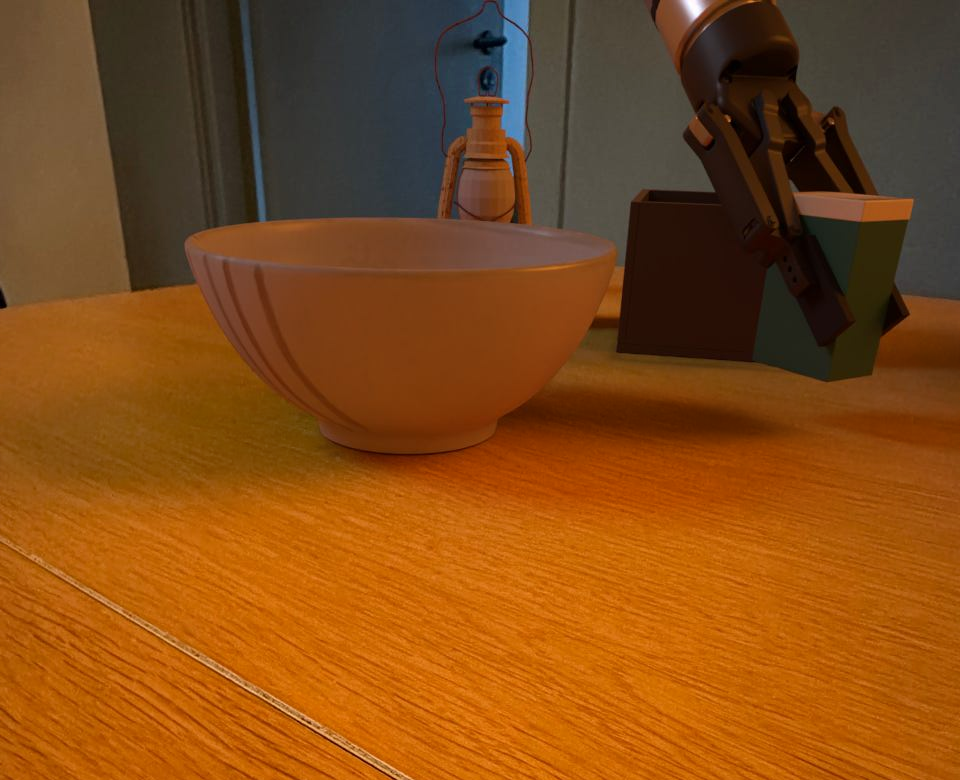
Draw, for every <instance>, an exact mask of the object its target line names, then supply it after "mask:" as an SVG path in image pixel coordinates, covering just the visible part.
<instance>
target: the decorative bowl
mask: <svg viewBox="0 0 960 780" xmlns="http://www.w3.org/2000/svg"><path fill="white" fill-rule="evenodd" d="M184 251H185V255H186V258H187V261H188V264H189V267H190V269H191V272H192V274H193V277H194V280H195V282H196V285H197V286H198V289H199V290H200V293H201V296H202V297H203V299H204V302H205V303H206V305H207V306H208V310H209V311H210V313H211V314H212V316H213V318H214V319H215V322H216V323H217V324H218V326H219V328H220V329H221V331H222V333H223V334H224V336H225V337H226V338H227V341H229V343H230V344H231V346H232V347H233V349H234V350H235V351H236V352H237V354H238V355H239V356H240V358H241V359H242V360H243V361H244V362H245V364H246V365H247V366H248V367H249V368H250V369H251V370H252V372H254V374H255V375H257V377H258V378H259V379H261V381H262V382H263V383H265V385H266V386H268V387H269V388H270V389H271V390H272V391H273V392H275V393H276V394H277V395H278V396H280V397H281V398H282V399H284V400H285V401H287V402H288V403H290V404H291V405H292V406H294V407H296V408H297V409H299V410H301V411H302V412H304V413H306V414H308V415H310V416H312V417H314V418H315V419H316V420H317V424H318V428H319V431H320V433H321V435H323V436H324V437H325V438H326V439H329V440H330V441H332V442H334V443H335V444H338V445H341V446H344V447H347V448H351V449H355V450H359V451H366V452H371V453H378V454H389V455H390V454H391V455H424V454H439V453H445V452H451V451H452V452H453V451H458V450H462V449H467V448H470V447H472V446H476V445H478V444H480V443H483V442H484V441H487V440H488V439H489V438H491V437H492V436H493V435H494V434H495V432H496V430H497V426H498V421H499V418H501V417H503V416H505V415H508V414H509V413H511V412H513V411H514V410H516V409H517V408H519V407H520V406H522V405H524V404H525V403H527V402H528V401H529V400H531V399H532V398H533V397H534V396H536V395H537V394H538V393H539V392H540V391H541V390H543V389H544V388H545V387H546V386H547V385H548V384H549V383H550V381H551V380H552V379H554V377H555V376H556V375H558V373H559V371H560V370H561V369H562V368H563V367H564V366H565V364H566V363H567V362H568V361H569V359H570V358H571V357H572V355H573V354H574V353H575V351H576V350H577V348H578V347H579V345H580V344H581V342H582V341H583V339H584V337H585V336H586V334H587V332H588V330H589V328H590V327H591V325H592V323H593V322H594V320H595V317H596V315H597V313H598V311H599V310H600V307H601V304H602V303H603V301H604V297H605V295H606V293H607V291H608V288H609V284H611V283H610V282H611V280H612V278H613V274H614V272H615V269H616V268H615V267H616V265H617V261H618V257H619V250H618V247H617V246H616V244H615V243H613V242H612V241H610V240H609V239H606V238H603V237H601V236H596V235H594V234H590V233H585V232H580V231H575V230H569V229H564V228H558V227H551V226H543V225H535V224H534V225H533V224H532V225H525V224H519V223H514V222H510V223H503V222H490V221H475V220H460V219H455V218H451V219H437V218H430V217H429V218H427V217H426V218H425V217H321V218H299V219H297V218H296V219H285V220H284V219H282V220H281V219H280V220H268V221H257V222H248V223H247V222H246V223H238V224H232V225H225V226H219V227H218V226H217V227H214V228H209V229H205V230H202V231H198V232H196V233H194V234H191V235H190V236H189V237H187V239H185V242H184Z"/></svg>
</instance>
